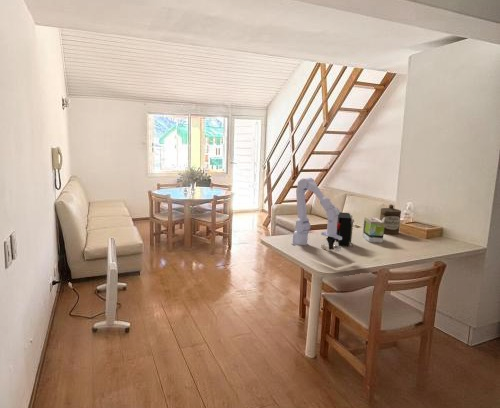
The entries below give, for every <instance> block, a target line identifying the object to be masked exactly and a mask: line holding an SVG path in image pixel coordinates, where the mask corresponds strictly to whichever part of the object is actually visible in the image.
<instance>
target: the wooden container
mask: <svg viewBox="0 0 500 408" xmlns="http://www.w3.org/2000/svg"><path fill="white" fill-rule="evenodd" d="M401 214H402V210H400V209H397V208H394V205H393V204H389V205H388V207H383V208H381V209H380V215H379V219H380V220H382V221H383V222H385V226H384V234H383V235H388V236H396V235H399V233H400V224H401Z"/></svg>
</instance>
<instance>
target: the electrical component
mask: <svg viewBox="0 0 500 408" xmlns="http://www.w3.org/2000/svg"><path fill="white" fill-rule="evenodd" d="M354 222H355V220H354V218H353V214H351V213H350V212H341V211H339V215H338V218H337V233H336V234H337V235H339V236H341V237H342V240H339V239H336V240H335V242H336V243H338V246H340V247H352V246H353V243H352V238H353V227H354V226H353V225H354Z"/></svg>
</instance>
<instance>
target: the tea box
mask: <svg viewBox="0 0 500 408" xmlns="http://www.w3.org/2000/svg"><path fill="white" fill-rule="evenodd" d="M363 219H364V220H363V221H364V222H363V228H362V229H363V230H362V237H363V238H364V239H365V240H366V241H367V242H368V243H383V240H384V235H385V234H384V226H385V222H383V221H382V220H380V218H377V217H364V218H363Z"/></svg>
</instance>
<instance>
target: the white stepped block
mask: <svg viewBox="0 0 500 408" xmlns="http://www.w3.org/2000/svg"><path fill="white" fill-rule="evenodd" d="M324 245H325V244H324ZM324 247H326V249H325V250H326V251H327V252H330V251H332V249H329V245H325V246H324Z"/></svg>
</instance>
